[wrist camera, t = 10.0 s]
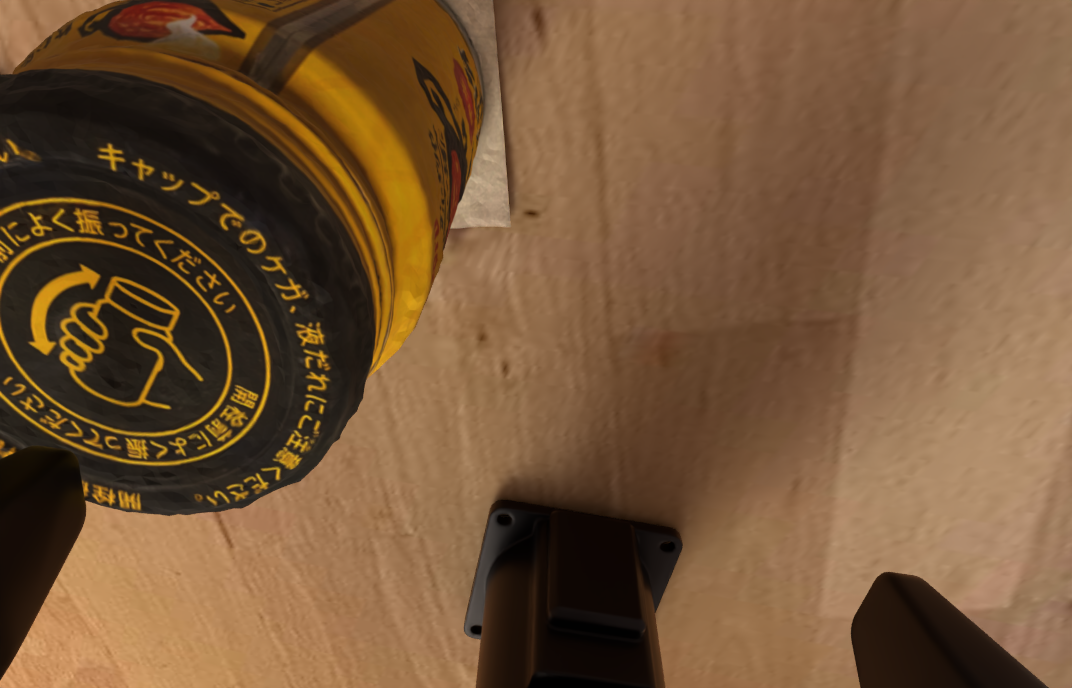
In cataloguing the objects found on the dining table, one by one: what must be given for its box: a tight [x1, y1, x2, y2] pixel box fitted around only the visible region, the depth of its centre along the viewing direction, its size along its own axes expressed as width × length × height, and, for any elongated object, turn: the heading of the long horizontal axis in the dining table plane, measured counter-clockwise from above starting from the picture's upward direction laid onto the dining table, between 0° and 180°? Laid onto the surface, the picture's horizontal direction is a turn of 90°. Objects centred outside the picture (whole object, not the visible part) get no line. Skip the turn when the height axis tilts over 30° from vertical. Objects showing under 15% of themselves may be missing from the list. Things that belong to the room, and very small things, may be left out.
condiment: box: [0, 0, 511, 516], centre depth 13 cm, size 7×8×12 cm
